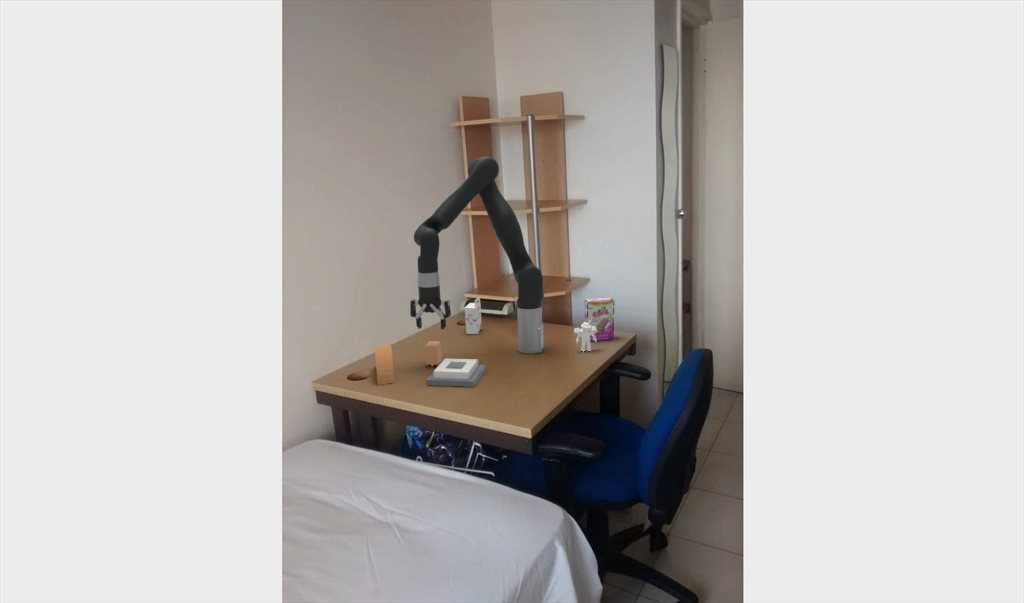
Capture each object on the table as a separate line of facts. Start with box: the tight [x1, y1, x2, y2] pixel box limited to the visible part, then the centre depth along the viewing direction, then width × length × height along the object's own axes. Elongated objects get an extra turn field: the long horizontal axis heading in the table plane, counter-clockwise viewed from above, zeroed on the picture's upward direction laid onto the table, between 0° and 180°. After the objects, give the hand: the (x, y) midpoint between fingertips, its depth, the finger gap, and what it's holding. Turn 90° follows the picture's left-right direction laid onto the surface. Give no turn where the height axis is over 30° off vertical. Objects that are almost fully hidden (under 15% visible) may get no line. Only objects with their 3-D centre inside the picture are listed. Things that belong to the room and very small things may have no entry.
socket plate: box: [426, 357, 486, 388], centre depth 217 cm, size 16×16×4 cm
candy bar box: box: [583, 297, 615, 342], centre depth 252 cm, size 11×5×16 cm, turn 98°
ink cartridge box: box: [464, 296, 483, 335], centre depth 269 cm, size 9×5×15 cm, turn 168°
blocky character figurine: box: [573, 319, 598, 353], centre depth 239 cm, size 9×4×12 cm, turn 102°
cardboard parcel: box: [424, 340, 443, 368], centre depth 230 cm, size 4×6×8 cm
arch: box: [374, 345, 396, 385], centre depth 222 cm, size 6×20×10 cm, turn 12°
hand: (431, 328), depth 228 cm, fingers open, 8 cm apart
